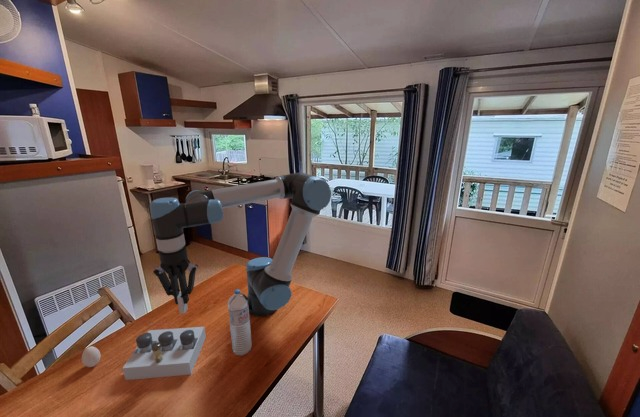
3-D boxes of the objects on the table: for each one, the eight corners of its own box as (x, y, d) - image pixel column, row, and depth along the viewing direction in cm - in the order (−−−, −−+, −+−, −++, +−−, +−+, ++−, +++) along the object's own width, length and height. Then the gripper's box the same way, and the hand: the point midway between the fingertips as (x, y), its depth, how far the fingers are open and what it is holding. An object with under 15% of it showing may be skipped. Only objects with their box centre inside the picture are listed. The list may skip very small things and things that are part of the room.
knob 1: (157, 349, 93) (153, 332, 90) (151, 359, 88) (147, 342, 86) (144, 350, 92) (140, 333, 90) (137, 360, 88) (133, 343, 86)
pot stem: (165, 356, 86) (162, 341, 84) (161, 363, 83) (158, 348, 81) (156, 357, 85) (153, 342, 84) (152, 363, 83) (149, 349, 81)
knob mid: (178, 347, 93) (174, 330, 91) (172, 357, 89) (169, 340, 87) (165, 348, 93) (161, 331, 91) (159, 358, 89) (155, 341, 86)
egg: (85, 363, 88) (79, 346, 86) (103, 357, 91) (98, 340, 89) (83, 373, 85) (77, 356, 83) (102, 366, 87) (96, 349, 85)
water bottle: (234, 359, 91) (228, 299, 83) (231, 345, 97) (225, 287, 89) (253, 352, 94) (249, 293, 87) (249, 339, 100) (245, 282, 92)
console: (205, 337, 100) (204, 326, 99) (191, 374, 85) (189, 362, 84) (150, 341, 98) (148, 330, 96) (125, 380, 83) (122, 368, 81)
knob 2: (198, 345, 94) (195, 329, 92) (194, 356, 90) (191, 339, 88) (185, 346, 94) (182, 330, 91) (180, 357, 89) (177, 340, 87)
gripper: (198, 241, 84) (207, 302, 91) (155, 243, 83) (168, 305, 90) (189, 252, 77) (200, 317, 84) (143, 254, 76) (158, 320, 83)
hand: (184, 311), depth 87 cm, fingers closed
